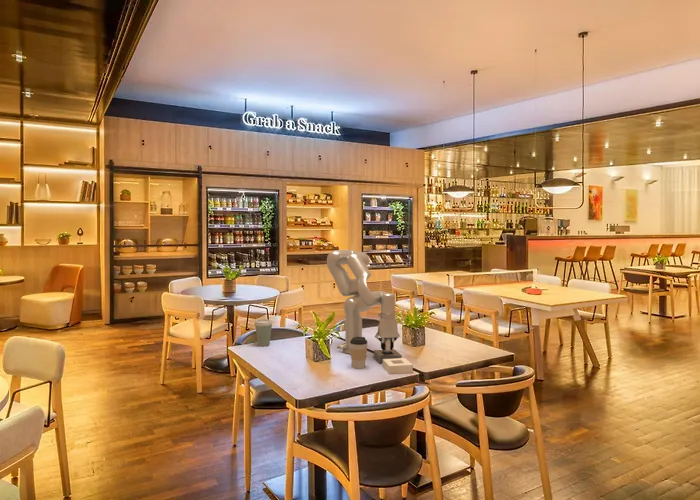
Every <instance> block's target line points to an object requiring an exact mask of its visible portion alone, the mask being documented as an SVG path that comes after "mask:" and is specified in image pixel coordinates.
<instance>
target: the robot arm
mask: <svg viewBox="0 0 700 500" xmlns="http://www.w3.org/2000/svg"><path fill="white" fill-rule="evenodd" d="M342 265H347V266H348V267H349V269H350V271H351V272H352V273H353V276H354V277H355V278H350V276H349V273H348V272H347V270H346V269H345V268H344V267H343V266H342ZM368 265H370V257H369V255H368V254H367V253H366V252H363V251H358V250H354V249H337V250H336V249H335V250H333V251H331V252H329V253H328V254H327V257H326V266H327V269H328V271H329V273H330V275H332V276H331V277H332V278H333V280H334V283H335V284H336V286H337V289H338V291H339V293H340V294H341V296H342V297H347V298H346V299H345V300H344V303H343V309H344V315H345V316H344V317H345V326H344V327H345V328H344V329H345V335H344V337H345V339H344V342H343V344H337V345H336V348H337V349H340V350H342V352H343V353H344V354H348V355H351V350H350V347H351V344H350V341H351V340H352V338H354V337H363V319H362V316H361V314H360V313H363V312H368V311H369V310H370V309H371V308H372V307H374V306H378V305H380V313H378V317H379V320H378V325H377V332H376V334H375V336H374V338H375V339H376V340H378V341H379V342H380V350H385V343H384V338H391V350H393V349H394V347H395V346H394V345H395V341H397V340H398V338H400V337H401V334H400V333H399V332H398V331H399V329H398V320H397V318H396V295H395V293H393V292H387V291H383V290H375V291H371V289H369V287H368V284H367V280H369V279H370V277H371V276H372V273H371V271H370V269H369V268H368V267H367V266H368Z"/></svg>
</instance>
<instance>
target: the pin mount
mask: <svg viewBox="0 0 700 500" xmlns="http://www.w3.org/2000/svg"><path fill="white" fill-rule="evenodd" d="M395 358H403V357H402V354H400V352H398V351H397V350H396V349H394V348H393V350H391V354H383V350H382V349H377V350H376V349H375V350H373V359H374V360H375V361H376V362H377V363H378V364H379V365H383V359H395Z"/></svg>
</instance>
